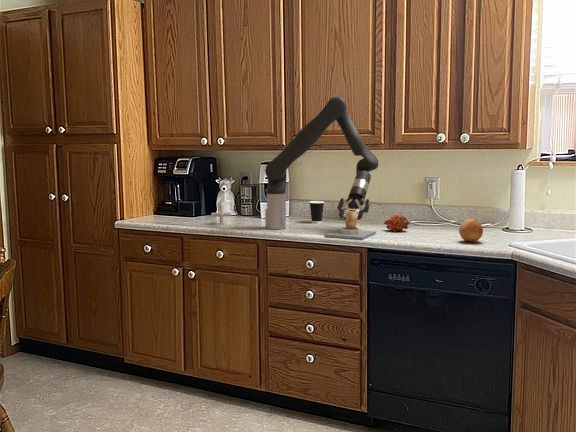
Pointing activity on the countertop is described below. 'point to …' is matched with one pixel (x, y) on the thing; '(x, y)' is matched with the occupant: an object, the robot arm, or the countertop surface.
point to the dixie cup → (316, 211)
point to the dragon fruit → (397, 223)
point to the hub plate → (350, 234)
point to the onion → (471, 230)
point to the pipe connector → (221, 214)
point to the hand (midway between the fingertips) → (349, 218)
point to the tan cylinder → (351, 219)
